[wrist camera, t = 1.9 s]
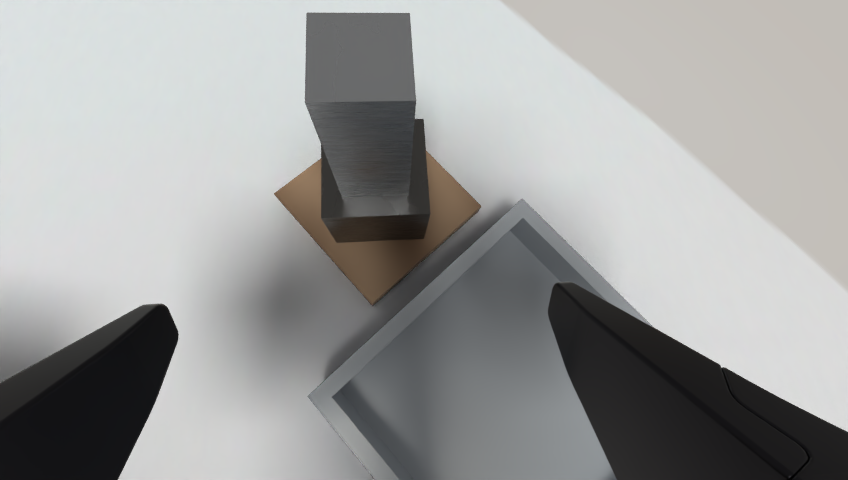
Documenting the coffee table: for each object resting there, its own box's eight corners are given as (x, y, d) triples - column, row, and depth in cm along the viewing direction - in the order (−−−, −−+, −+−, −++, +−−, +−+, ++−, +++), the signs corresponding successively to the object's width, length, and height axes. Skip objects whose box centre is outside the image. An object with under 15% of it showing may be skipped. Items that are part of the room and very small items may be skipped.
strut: (424, 238, 22) (452, 130, 11) (336, 242, 22) (267, 134, 10) (418, 160, 24) (438, -12, 12) (336, 162, 23) (274, -14, 12)
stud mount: (372, 305, 22) (367, 298, 18) (278, 199, 23) (254, 171, 19) (478, 211, 24) (493, 186, 20) (386, 118, 25) (384, 78, 21)
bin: (513, 620, 18) (538, 682, 15) (322, 386, 21) (307, 396, 17) (684, 398, 22) (737, 409, 18) (504, 218, 24) (522, 198, 21)
